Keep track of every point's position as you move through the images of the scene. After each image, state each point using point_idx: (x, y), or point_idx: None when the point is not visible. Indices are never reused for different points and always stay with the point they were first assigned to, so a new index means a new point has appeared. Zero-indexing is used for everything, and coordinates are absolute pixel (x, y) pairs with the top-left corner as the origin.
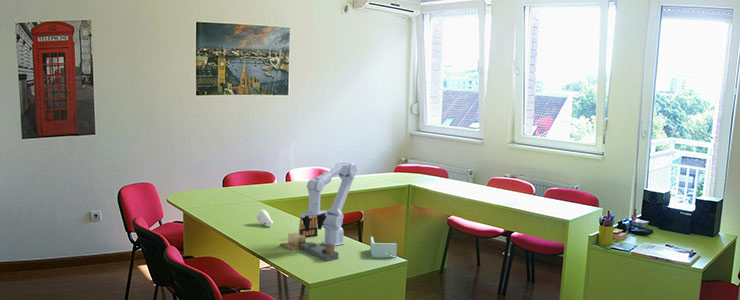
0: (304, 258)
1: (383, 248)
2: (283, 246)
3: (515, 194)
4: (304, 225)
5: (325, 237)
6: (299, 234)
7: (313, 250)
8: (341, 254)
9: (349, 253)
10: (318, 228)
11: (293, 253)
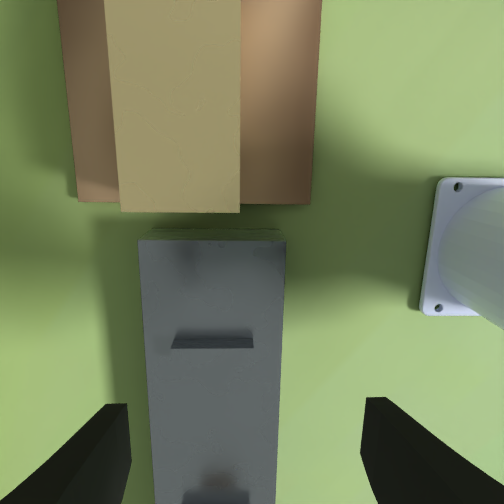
0: (70, 416)
1: None
2: (66, 37)
3: None
4: (35, 478)
5: (482, 250)
6: (229, 73)
7: (152, 437)
8: (351, 478)
9: None
10: (368, 421)
11: (54, 274)
